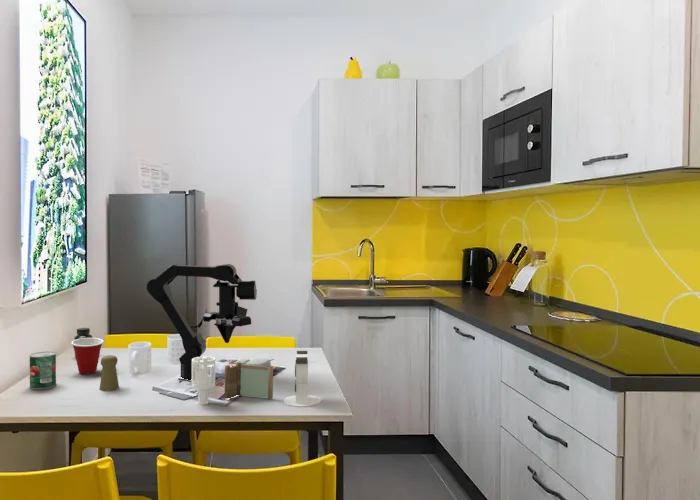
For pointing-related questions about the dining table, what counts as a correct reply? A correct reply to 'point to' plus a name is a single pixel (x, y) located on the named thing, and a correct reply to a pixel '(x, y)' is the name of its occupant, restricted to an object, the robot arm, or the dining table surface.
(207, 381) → the white stepped cylinder
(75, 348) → the plastic cup
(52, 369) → the canned tomato
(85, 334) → the supplement bottle
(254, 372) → the folding section
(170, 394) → the card
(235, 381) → the fence fixed
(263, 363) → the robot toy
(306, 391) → the white stand
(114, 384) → the cork
